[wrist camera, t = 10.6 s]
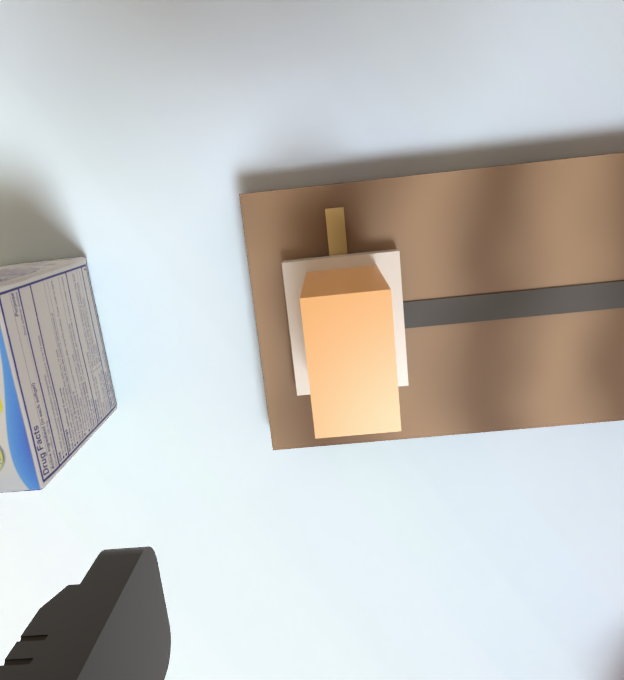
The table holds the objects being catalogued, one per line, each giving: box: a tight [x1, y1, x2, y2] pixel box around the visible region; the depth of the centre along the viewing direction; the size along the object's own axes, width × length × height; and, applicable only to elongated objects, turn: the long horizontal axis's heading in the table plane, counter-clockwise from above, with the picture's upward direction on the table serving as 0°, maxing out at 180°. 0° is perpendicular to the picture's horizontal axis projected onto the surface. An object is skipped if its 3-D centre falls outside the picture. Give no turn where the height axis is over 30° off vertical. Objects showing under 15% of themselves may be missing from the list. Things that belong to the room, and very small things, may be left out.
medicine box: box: [0, 257, 117, 493], centre depth 25 cm, size 8×4×9 cm, turn 6°
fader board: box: [239, 153, 624, 450], centre depth 27 cm, size 22×12×2 cm, turn 96°
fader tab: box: [282, 249, 409, 439], centre depth 23 cm, size 5×6×7 cm
